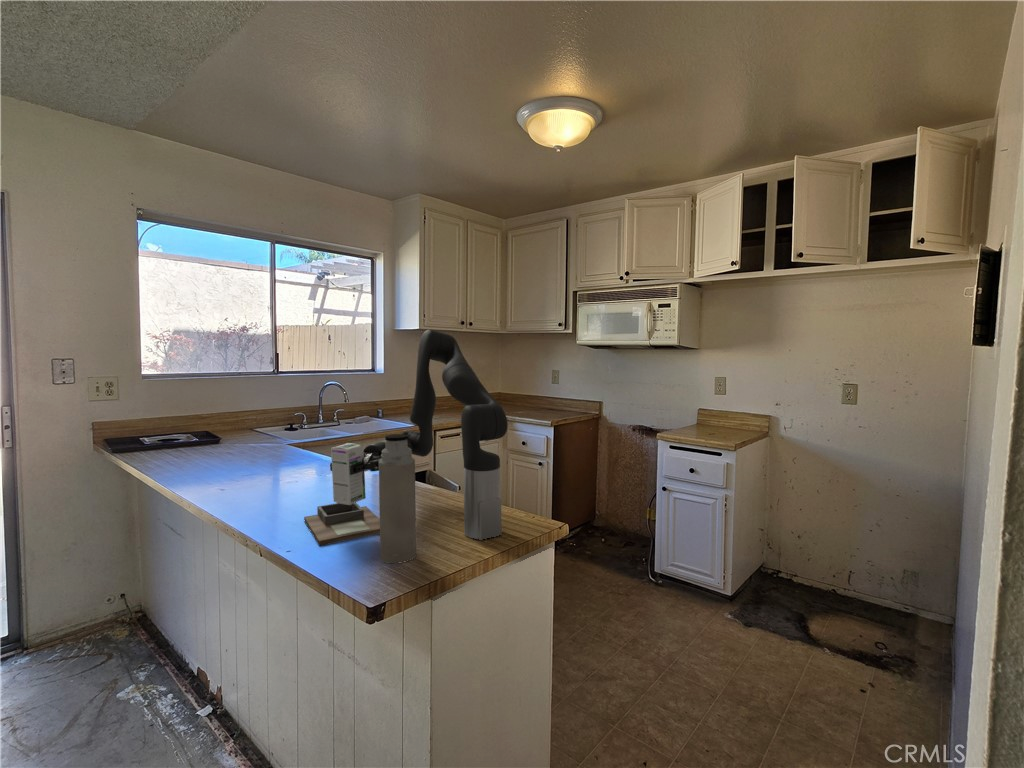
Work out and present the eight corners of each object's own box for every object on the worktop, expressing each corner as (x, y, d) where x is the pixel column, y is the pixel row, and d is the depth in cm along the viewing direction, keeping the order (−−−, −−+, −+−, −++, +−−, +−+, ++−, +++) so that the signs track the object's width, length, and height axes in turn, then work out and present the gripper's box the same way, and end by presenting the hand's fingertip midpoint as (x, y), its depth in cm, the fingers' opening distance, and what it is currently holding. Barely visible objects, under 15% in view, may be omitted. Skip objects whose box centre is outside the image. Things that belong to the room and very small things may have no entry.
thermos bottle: (384, 549, 116) (382, 432, 114) (418, 548, 116) (417, 431, 114) (376, 564, 108) (374, 438, 106) (413, 563, 108) (411, 438, 106)
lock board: (388, 531, 127) (388, 518, 127) (319, 545, 118) (319, 531, 118) (366, 510, 144) (365, 498, 144) (304, 521, 135) (303, 508, 135)
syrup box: (349, 505, 123) (348, 449, 121) (332, 502, 125) (330, 446, 124) (365, 498, 128) (364, 444, 126) (348, 495, 130) (347, 441, 129)
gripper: (362, 439, 141) (318, 451, 126) (404, 443, 136) (364, 456, 120) (363, 465, 142) (319, 480, 126) (404, 470, 136) (365, 486, 121)
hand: (341, 468), depth 123 cm, fingers closed on syrup box, 6 cm apart
